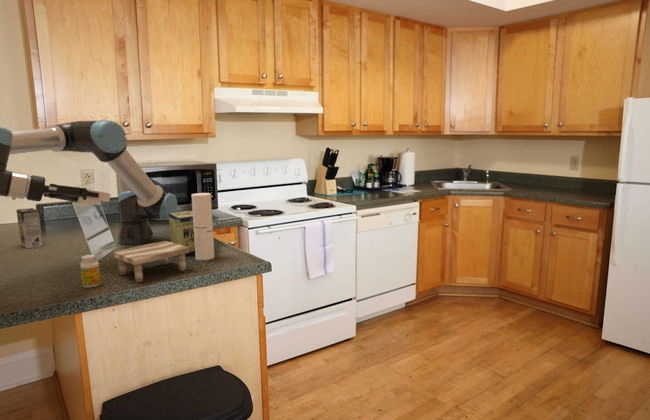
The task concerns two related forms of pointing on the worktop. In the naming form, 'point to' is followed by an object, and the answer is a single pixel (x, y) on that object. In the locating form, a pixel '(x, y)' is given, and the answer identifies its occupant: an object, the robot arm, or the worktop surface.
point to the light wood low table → (150, 256)
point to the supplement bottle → (90, 271)
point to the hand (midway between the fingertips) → (104, 199)
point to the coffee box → (29, 227)
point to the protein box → (182, 230)
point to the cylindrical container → (203, 226)
